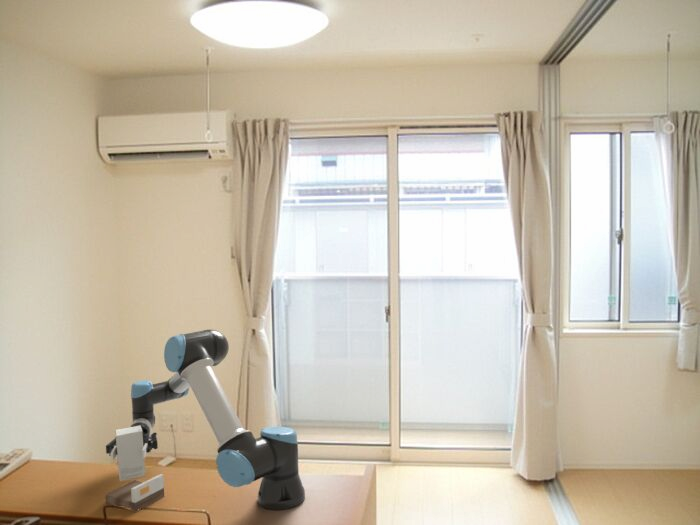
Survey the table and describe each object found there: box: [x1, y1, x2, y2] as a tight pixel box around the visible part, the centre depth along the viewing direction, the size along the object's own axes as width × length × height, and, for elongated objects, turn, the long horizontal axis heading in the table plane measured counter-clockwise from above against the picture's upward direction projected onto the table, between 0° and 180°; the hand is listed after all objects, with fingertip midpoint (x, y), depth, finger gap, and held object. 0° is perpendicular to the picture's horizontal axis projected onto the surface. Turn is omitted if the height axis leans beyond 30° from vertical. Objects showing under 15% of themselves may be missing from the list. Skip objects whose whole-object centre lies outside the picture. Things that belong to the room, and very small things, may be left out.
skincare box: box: [115, 426, 146, 482], centre depth 193 cm, size 8×7×16 cm
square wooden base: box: [104, 473, 165, 513], centre depth 193 cm, size 14×12×7 cm
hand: (127, 455), depth 188 cm, fingers closed on skincare box, 9 cm apart
